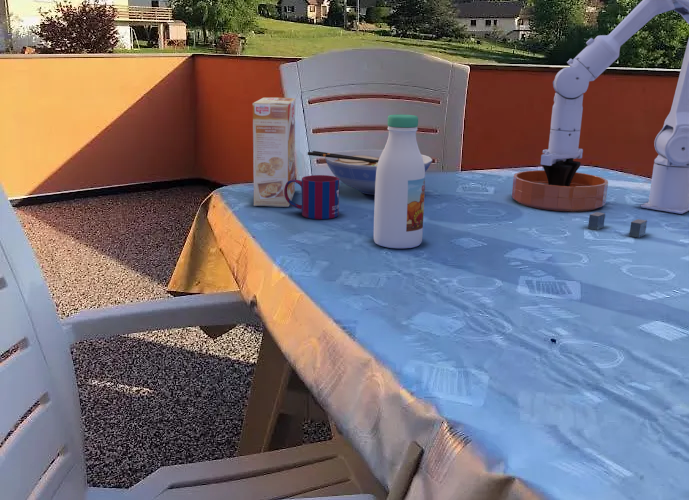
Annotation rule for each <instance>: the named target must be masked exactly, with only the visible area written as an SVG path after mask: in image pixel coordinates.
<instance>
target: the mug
mask: <svg viewBox="0 0 689 500" xmlns="http://www.w3.org/2000/svg"><path fill="white" fill-rule="evenodd" d="M291 182H295V184H298V185H299V186H300V187H301V204H297V203H295V202H294V201H292V200H290V199H289V197H288V194H287V188H288V185H289V184H290V183H291ZM284 195H285V198H286V200H287V202H288V203H289V204H290V205H289V206H292V207H294V208H296V209H299V210H301V216H302V217H303V218H307V219H312V220H330V219H335V218H337V217H339V213H340V211H339V210H340V208H339V207H340V180H339V178H338V177H335V175H326V174H313V175H305V176H303V177H302V178H301V180H298V179H295V180H289V181H288V182H287V183H286V185H285V188H284Z"/></svg>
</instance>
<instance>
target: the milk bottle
mask: <svg viewBox="0 0 689 500" xmlns="http://www.w3.org/2000/svg"><path fill="white" fill-rule="evenodd" d="M418 126H419V116H417V115H414V114H390V115H388V116H387V128H386V129H387V130H388V136H387V140H386V143H385V146H384V148H383V149H382V150H383V152H382V154H381V156H380V158H379V161H378V165H377V170H376V182H375V195H374V204H373V205H374V207H373V208H374V210H373V241H374V243H375V244H377V245H378V246H381V247H385V248H388V249H389V248H390V249H411V248H416V247H418V246H420V245H421V244H422V242H423V232H424V216H425V215H424V214H425V213H424V212H425V193H426V172H425V166H424V162H423V158H422V155H423V154H422V153H421V151H420V150H421V149H420V148H419V145H418V140H417V131H418V130H419V128H418ZM421 154H422V155H421Z"/></svg>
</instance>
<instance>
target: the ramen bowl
mask: <svg viewBox="0 0 689 500" xmlns="http://www.w3.org/2000/svg"><path fill="white" fill-rule="evenodd" d="M383 150H384V149H348V150H341V151H333V152H326V151H318V150H312V151H307V156H312V157H313V156H314V157H321V158H322V157H324V160H325V162H326V164H327V166H328V168H329V169H330V171H331V173H332V174H333V176H335V177H338V178H339V182H341V183H342V184H344V185H347V186H348V187H351V188H353V189H355V190H358V192H360V193H361V194H366V195H373V196H375V182H376V170H377V165H378V161H379V158H380V156H381V154H382V152H383ZM421 155H422V158H423V162H424V166H425V173H426V172H427V171H428V169H429V168H430V166H431V164H432V162H433V158H431V157H430V156H428V155H425V154H422V153H421Z"/></svg>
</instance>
